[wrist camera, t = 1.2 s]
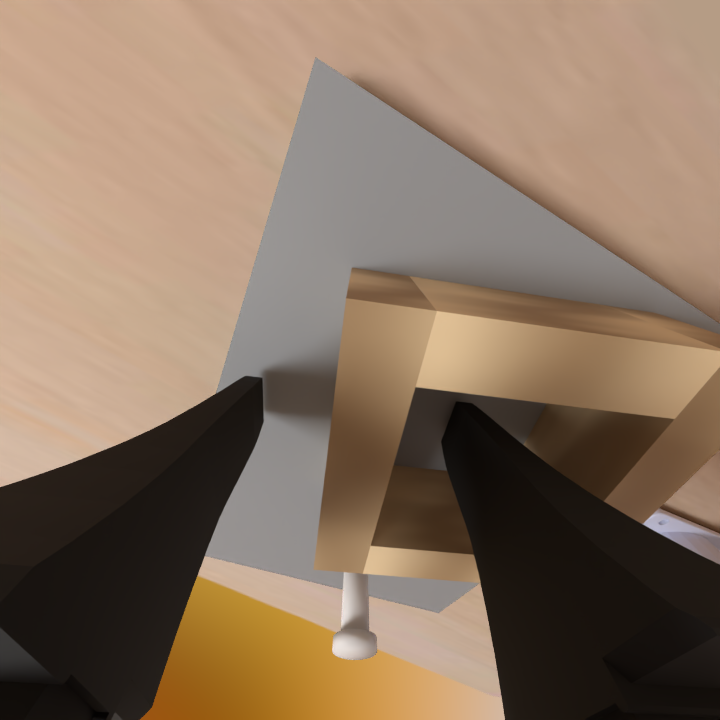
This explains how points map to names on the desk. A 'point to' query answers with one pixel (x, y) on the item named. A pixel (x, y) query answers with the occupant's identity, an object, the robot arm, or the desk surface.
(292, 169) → the slate board
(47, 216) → the desk surface
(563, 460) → the oak frame
